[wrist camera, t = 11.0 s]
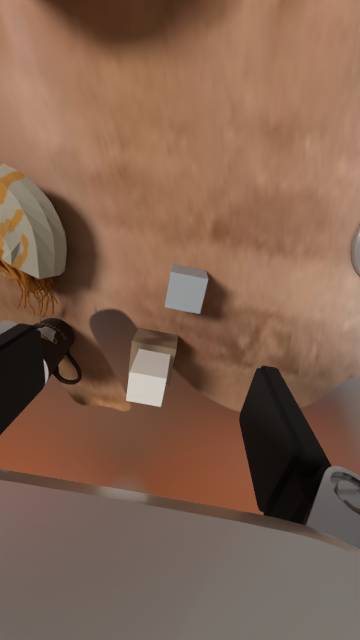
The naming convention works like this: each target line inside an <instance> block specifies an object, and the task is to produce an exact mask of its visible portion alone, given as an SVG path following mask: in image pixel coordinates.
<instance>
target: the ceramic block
mask: <svg viewBox="0 0 360 640" xmlns="http://www.w3.org/2000/svg"><path fill="white" fill-rule="evenodd" d="M169 361H170V355H169V354H164V353H159V352H153V351H148V350H143V349H139V350H138V353H137V355H136V358H135V360H134V362H133V365H132V367H131V370H130V373H129V382H128V389H127V397H126V401H132V402H137V403H143V404H149V405H154V406H159V407H161V403H162V398H163V393H164V389H165V384H166V379H167V373H168V367H169Z"/></svg>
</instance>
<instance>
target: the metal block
mask: <svg viewBox="0 0 360 640" xmlns="http://www.w3.org/2000/svg"><path fill="white" fill-rule="evenodd" d="M177 341H178V335H174V334H168V333H163V332H158V331H152V330H147V329H142V328H138V331H137V332H136V334H135V336H134V338H133V341H132V347H131V355H130V364H129V373H130V370H131V367H132V365H133V362H134V360H135V358H136V355H137V353H138V350H139V349H143V350H148V351H153V352H159V353H164V354H169V355H170V361H169V367H168V373H167V379H166V384H167V385H169V383H170V378H171V373H172V369H173V364H174V359H175V354H176V350H177ZM129 373H128V377H129Z"/></svg>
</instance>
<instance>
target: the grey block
mask: <svg viewBox="0 0 360 640" xmlns="http://www.w3.org/2000/svg"><path fill="white" fill-rule="evenodd" d="M207 283H208V276H207V273H206V270H201V269H196V268H191V267H186V266H181V265H176V264H174V265H173V268H172V270H171V274H170V279H169V285H168V291H167V296H166V302H165V307H166V308H171V309H177V310H182V311H187V312H192V313H197V314H200V311H201V307H202V303H203V299H204V295H205V291H206V287H207Z"/></svg>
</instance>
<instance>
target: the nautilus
mask: <svg viewBox="0 0 360 640" xmlns="http://www.w3.org/2000/svg"><path fill="white" fill-rule="evenodd" d="M66 255H67V246H66V235H65V231H64V229H63V226H62V224H61V221H60V219H59V217H58V215H57V213H56V211H55V209H54V207H53V205H52V203H51V202H50V200H49V199H48V198H47V197H46V195H45V194H44V193H43V192H42V191H41V190H40V189H39V188H38V187H37V186H36V185H35V184H34V183H33V182H32V181H31V180H30V179H29V178H28V177H26V176H25V175H24V174H22V173H21V172H19V171H17V170H15V169H14V168H12V167H10V166H8V165H6V164H1V163H0V274H2V275H3V276H5V277H6V278H8V279H9V280H11V281H13V282H15V283H16V284H17V285H18V286H19V288H20V290H21V297H20V300H19V304H18V306H17V308H18V307H19V305H20V302H21V299H22V296H23V290H22V288H21V286H24V296H25V307H26V296H27V297H28V303H29V305H30V307H31V308H32V311H33V314H34V317H35V313H34V309H33V307H32V306H31V304H30V299H29V291H30V292H31V293H34V296H35V298H36V299H37V300H38V304H39V316H40V322H41V312H42V308H43V300H44V298H43V296H44V297H45V294H46V296H47V303H46V310H45V313H46V311H47V307H48V300H49V297H48V294H47V291H48V292H49V293H50V295H51V298H52V309H53V310H52V315H53V312H54V302H53V298H54V299H55V297H54V295H53V292H52V289H51V287H50V286H51V285H52V276H53V277H56V276H58V275H61V274H62V273H63V272H64V271H65V264H66ZM47 277H49V283H48V278H47ZM54 280H55V278H54ZM50 281H51V283H50ZM55 282H56V280H55ZM38 283H39V284H38ZM56 284H57V283H56ZM39 285H40V286H39ZM25 286H26V288H25ZM57 286H58V285H57ZM40 287H41V289H40ZM46 287H47V288H48V289H46ZM58 287H59V286H58ZM37 289H38V291H37V295H38V293H40V294H41V297H39V296H38V297H39V299H40V298H41V300H40V301H39V299H38V298H37V296H36V294H35V291H36V290H37ZM49 289H50V290H49ZM59 289H60V288H59ZM41 290H43V291H44V295H42V292H41ZM50 291H51V292H50ZM51 293H52V294H51ZM55 301H56V299H55ZM40 302H41V311H40ZM56 303H57V301H56ZM57 304H58V303H57ZM25 307H24V308H25ZM17 308H16V309H17ZM45 313H44V315H43V317H44V316H45ZM51 317H52V316H51ZM40 322H39V324H40Z"/></svg>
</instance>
